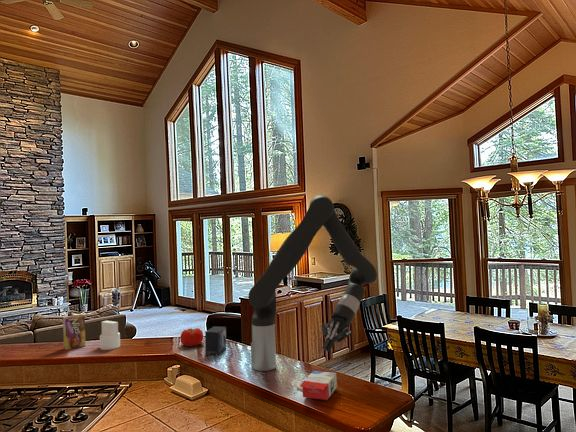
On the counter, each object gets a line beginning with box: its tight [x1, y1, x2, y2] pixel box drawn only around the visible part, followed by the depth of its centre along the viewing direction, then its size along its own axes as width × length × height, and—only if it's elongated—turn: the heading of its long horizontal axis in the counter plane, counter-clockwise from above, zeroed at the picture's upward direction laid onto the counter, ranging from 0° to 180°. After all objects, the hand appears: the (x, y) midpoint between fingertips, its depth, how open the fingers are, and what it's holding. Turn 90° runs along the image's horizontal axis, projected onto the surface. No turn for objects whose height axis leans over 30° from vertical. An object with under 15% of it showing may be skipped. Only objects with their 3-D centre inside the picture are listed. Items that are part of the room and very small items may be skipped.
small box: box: [204, 325, 227, 357], centre depth 191 cm, size 11×6×10 cm, turn 168°
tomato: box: [179, 327, 204, 348], centre depth 204 cm, size 11×11×8 cm
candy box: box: [62, 313, 86, 351], centre depth 205 cm, size 9×4×15 cm, turn 133°
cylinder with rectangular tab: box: [99, 320, 121, 351], centre depth 204 cm, size 9×9×12 cm
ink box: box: [300, 370, 338, 401], centre depth 139 cm, size 8×5×15 cm
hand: (325, 350), depth 149 cm, fingers closed
